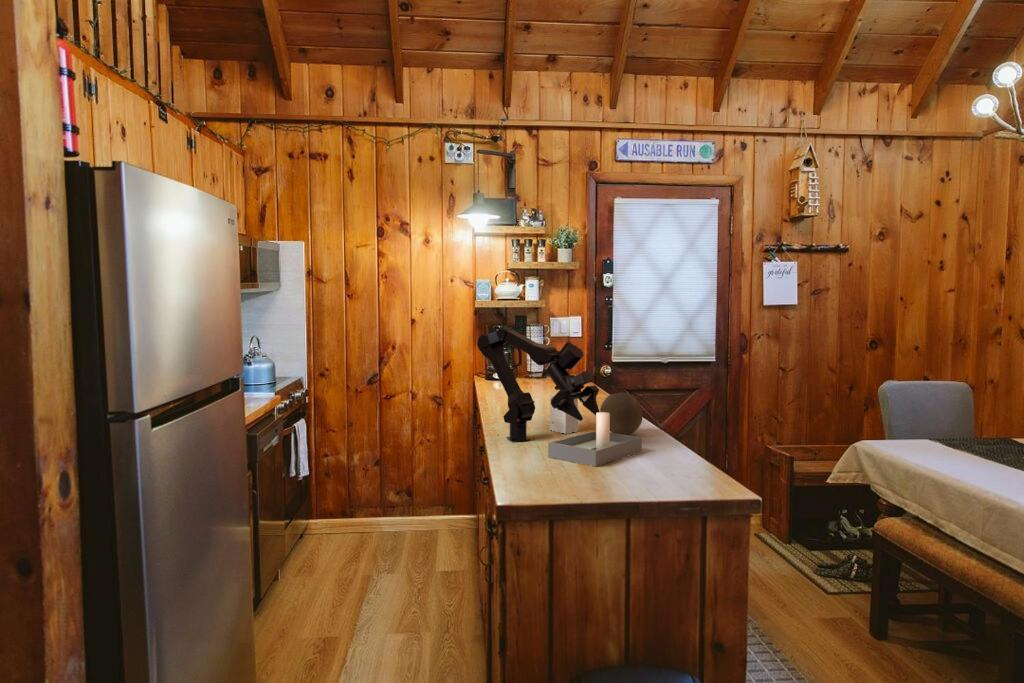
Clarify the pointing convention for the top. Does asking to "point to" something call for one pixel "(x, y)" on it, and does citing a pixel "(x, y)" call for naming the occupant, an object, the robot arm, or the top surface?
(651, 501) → the top surface
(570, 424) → the small box
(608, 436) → the peg
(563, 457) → the tray
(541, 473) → the top surface
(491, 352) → the robot arm
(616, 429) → the brown ball
